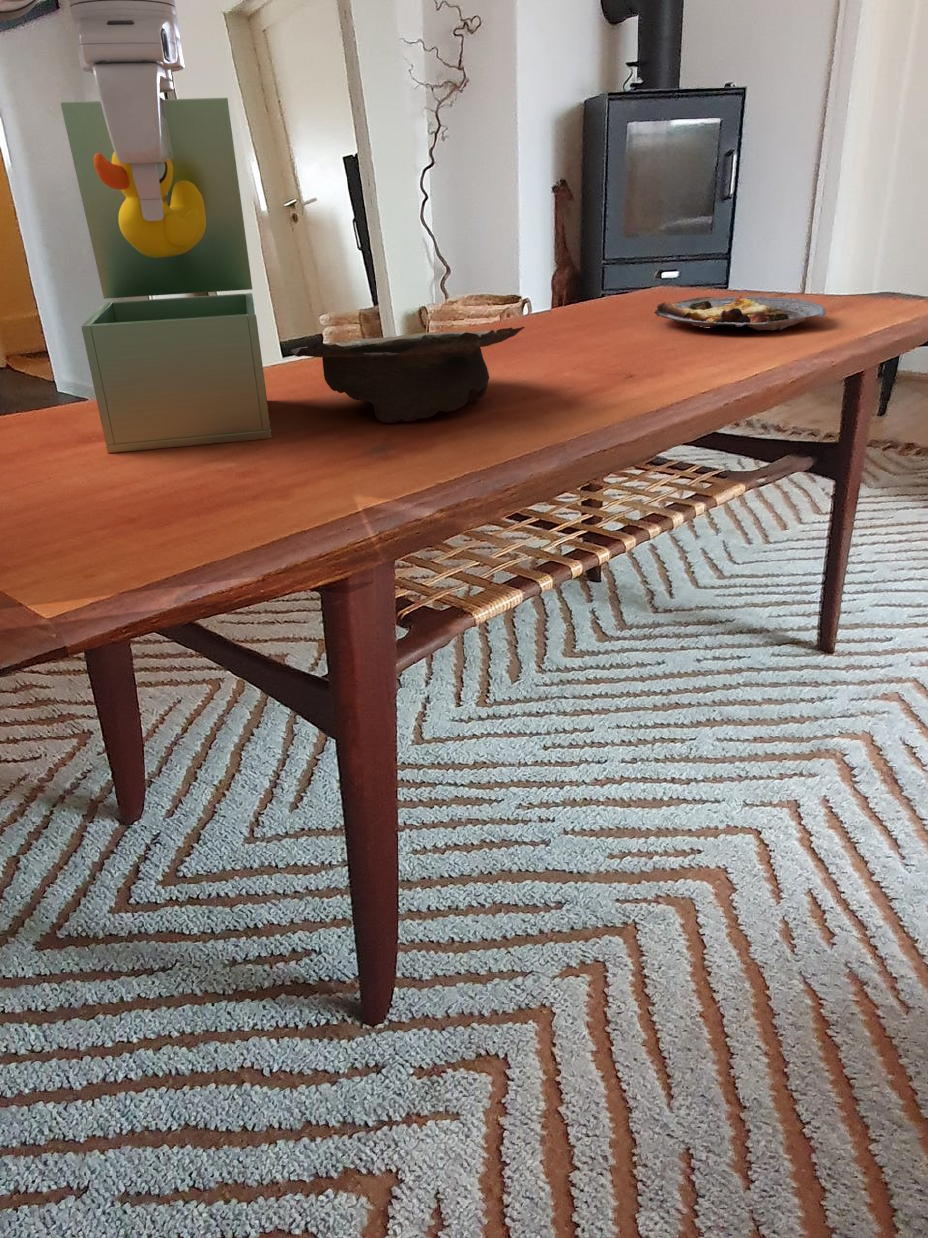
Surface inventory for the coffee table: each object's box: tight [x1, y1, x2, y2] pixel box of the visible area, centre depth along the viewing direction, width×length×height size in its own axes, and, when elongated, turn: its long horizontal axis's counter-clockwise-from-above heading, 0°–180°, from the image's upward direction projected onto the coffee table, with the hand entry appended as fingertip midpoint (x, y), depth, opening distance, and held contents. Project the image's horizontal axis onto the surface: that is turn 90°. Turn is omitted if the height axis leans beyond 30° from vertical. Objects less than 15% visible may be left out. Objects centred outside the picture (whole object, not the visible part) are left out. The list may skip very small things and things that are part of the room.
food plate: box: [654, 295, 827, 331], centre depth 143 cm, size 25×23×4 cm
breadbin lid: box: [60, 97, 253, 300], centre depth 97 cm, size 18×16×5 cm
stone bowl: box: [290, 326, 526, 424], centre depth 102 cm, size 25×25×9 cm
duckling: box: [94, 151, 206, 258], centre depth 87 cm, size 11×5×10 cm, turn 149°
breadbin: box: [80, 292, 273, 454], centre depth 96 cm, size 18×16×12 cm
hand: (158, 218), depth 88 cm, fingers closed on duckling, 7 cm apart
